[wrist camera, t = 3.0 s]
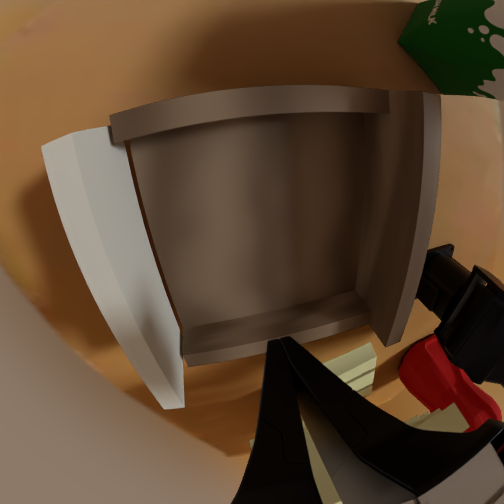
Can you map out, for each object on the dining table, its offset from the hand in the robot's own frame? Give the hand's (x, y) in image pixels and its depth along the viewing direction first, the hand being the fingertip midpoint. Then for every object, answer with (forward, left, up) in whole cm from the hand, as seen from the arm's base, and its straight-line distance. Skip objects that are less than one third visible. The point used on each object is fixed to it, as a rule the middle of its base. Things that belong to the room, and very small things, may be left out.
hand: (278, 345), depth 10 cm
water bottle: (-26, +28, -12) cm, 40 cm away
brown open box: (-2, 0, -12) cm, 12 cm away
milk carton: (-20, -15, -12) cm, 28 cm away
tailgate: (+6, 0, -10) cm, 12 cm away
